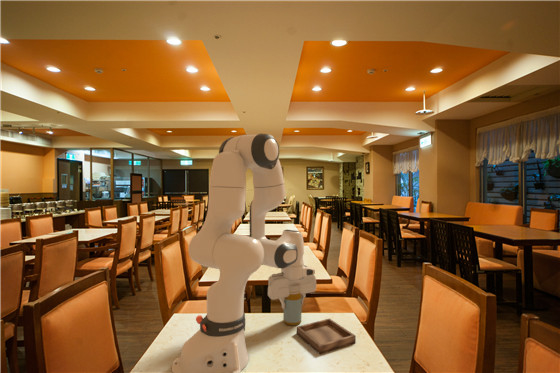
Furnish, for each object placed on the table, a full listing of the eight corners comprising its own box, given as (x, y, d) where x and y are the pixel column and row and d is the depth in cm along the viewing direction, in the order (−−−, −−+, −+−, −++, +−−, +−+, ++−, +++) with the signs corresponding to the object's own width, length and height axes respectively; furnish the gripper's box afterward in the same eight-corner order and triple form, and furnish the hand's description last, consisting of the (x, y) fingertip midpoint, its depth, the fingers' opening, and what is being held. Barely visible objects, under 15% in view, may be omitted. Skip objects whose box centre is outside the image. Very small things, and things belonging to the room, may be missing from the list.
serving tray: (320, 354, 95) (320, 346, 95) (296, 333, 108) (296, 326, 108) (355, 342, 102) (355, 335, 102) (329, 324, 115) (329, 318, 115)
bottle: (301, 318, 120) (301, 281, 120) (301, 326, 114) (301, 287, 113) (284, 317, 121) (284, 280, 121) (282, 325, 114) (282, 286, 114)
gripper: (272, 277, 110) (272, 314, 110) (318, 269, 119) (318, 304, 119) (264, 272, 115) (264, 308, 115) (309, 265, 125) (309, 298, 125)
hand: (292, 306), depth 117 cm, fingers closed on bottle, 6 cm apart
